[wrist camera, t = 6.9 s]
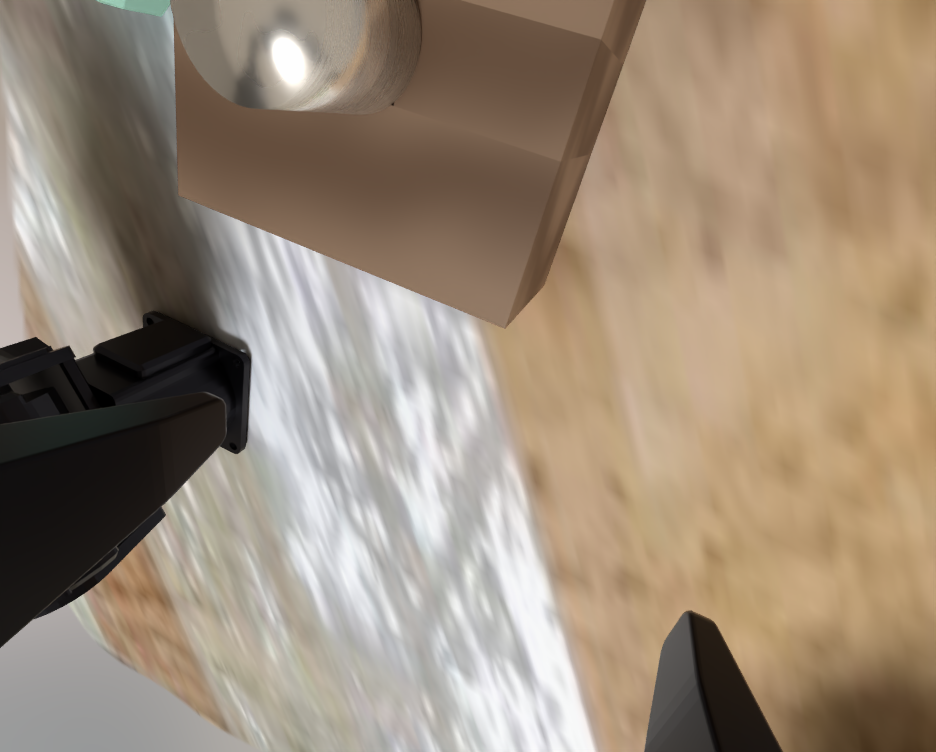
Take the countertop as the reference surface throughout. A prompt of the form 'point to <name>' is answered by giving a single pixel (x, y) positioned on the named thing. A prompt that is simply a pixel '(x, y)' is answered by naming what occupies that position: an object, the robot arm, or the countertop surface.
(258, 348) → the countertop surface
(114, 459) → the robot arm
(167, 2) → the mint green octagonal rod
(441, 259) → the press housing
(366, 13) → the silver metal peg
